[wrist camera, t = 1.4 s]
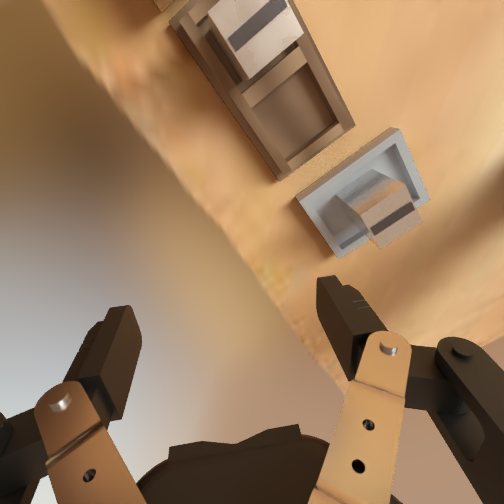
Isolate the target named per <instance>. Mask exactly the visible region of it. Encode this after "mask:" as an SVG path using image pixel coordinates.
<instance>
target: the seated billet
mask: <svg viewBox="0 0 504 504" xmlns="http://www.w3.org/2000/svg"><path fill="white" fill-rule="evenodd" d="M207 13H208V27H209V31H210V33H211V35H212V36H213V38H214V39H215V41H216V42H217V44H218V45H219V47H220V48H221V50H222V52H223V53H224V55H225V56H226V58H227V59H228V61H229V62H230V64H231V65H232V67H233V69H234V70H235V72H236V73H237V75H238V76H239V78H240V79H241V81H242V82H243V81H246V80H249V79H250V78H252V77H253V76H254V75H255V74H256V73H258V72H259V71H260V70H261V69H262V68H263V67H265V66H266V65H267V64H268V63H269V62H270V61H272V60H273V59H274V58H275V57H276V56H278V55H279V54H280V53H281V52H282V51H283V50H285V49H286V48H287V47H288V46H289V45H291V44H292V43H293V42H294V41H295V40H296V39H298V38H299V37H300V36H301V35H302V34H304V32H303V30H302V28H301V26H300V24H299V22H298V20H297V18H296V16H295V15H294V13H293V11H292V9H291V7H290V5H289V3H288V1H287V0H220V1H219V2H218V3H217V4H216V5H214V6H213V7H212V8H211V9H210V10H209V11H208V12H207Z"/></svg>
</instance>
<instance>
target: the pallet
mask: <svg viewBox="0 0 504 504" xmlns="http://www.w3.org/2000/svg"><path fill="white" fill-rule="evenodd" d="M219 1H220V0H191V1H190V2H189V3H188V4H186V5H185V6H184V7H183V8H182V9H181V10H180V11H179V12H178V13H177V14H176V15H175V16H174V17H173V18H172V19H171V20H170V21H169V24H170V25H171V27H172V28H173V29H174V31H175V32H176V34H177V35H178V37H179V38H180V39H181V41H182V42H183V44H184V45H185V47H186V48H187V49H188V51H189V52H190V54H191V55H192V57H193V58H194V60H195V61H196V62H197V64H198V65H199V67H200V68H201V70H202V71H203V72H204V74H205V75H206V77H207V78H208V80H209V81H210V82H211V84H212V85H213V87H214V88H215V90H216V91H217V93H218V94H219V95H220V97H221V98H222V100H223V101H224V103H225V104H226V105H227V107H228V108H229V110H230V111H231V113H232V114H233V115H234V117H235V118H236V120H237V121H238V123H239V124H240V125H241V127H242V128H243V130H244V131H245V133H246V134H247V136H248V137H249V138H250V140H251V141H252V143H253V144H254V146H255V147H256V148H257V150H258V151H259V153H260V154H261V156H262V157H263V158H264V160H265V161H266V163H267V164H268V166H269V167H270V169H271V170H272V171H273V173H274V174H275V176H276V177H277V179H278V180H279V181H281V180H283V179H284V178H285V177H287V176H288V175H289V174H291V173H292V172H293V171H295V170H296V169H298V168H299V167H300V166H302V165H303V164H304V163H306V162H307V161H308V160H310V159H311V158H312V157H314V156H315V155H316V154H318V153H319V152H320V151H322V150H323V149H324V148H326V147H327V146H328V145H330V144H331V143H332V142H334V141H335V140H336V139H338V138H339V137H340V136H342V135H343V134H345V133H346V132H347V131H349V130H350V129H351V128H353V127H354V126H355V123H354V121H353V119H352V117H351V115H350V113H349V111H348V109H347V107H346V105H345V103H344V101H343V99H342V97H341V95H340V93H339V91H338V89H337V87H336V85H335V83H334V81H333V79H332V77H331V75H330V73H329V71H328V69H327V67H326V65H325V63H324V61H323V59H322V57H321V55H320V53H319V51H318V49H317V47H316V45H315V43H314V41H313V39H312V37H311V35H310V33H309V31H308V29H307V27H306V25H305V23H304V21H303V19H302V17H301V15H300V13H299V11H298V9H297V7H296V5H295V3H294V1H293V0H287V1H288V3H289V5H290V7H291V9H292V11H293V13H294V15H295V16H296V18H297V20H298V22H299V24H300V26H301V28H302V30H303V32H304V34H302V35H301V36H300V37H299V38H298V39H296V40H295V41H294V42H293V43H292V44H291V45H289V46H288V47H287V48H286V49H285V50H283V51H282V52H281V53H280V54H279V55H278V56H276V57H275V58H274V59H273V60H272V61H270V62H269V63H268V64H267V65H266V66H265V67H263V68H262V69H261V70H260V71H259V72H258V73H256V74H255V75H254V76H253V77H252V78H250V79H249V80H246V81H243V82H242V81H241V79H240V78H239V76H238V75H237V73H236V72H235V70H234V69H233V67H232V65H231V64H230V62H229V61H228V59H227V58H226V56H225V55H224V53H223V52H222V50H221V48H220V47H219V45H218V44H217V42H216V41H215V39H214V38H213V36H212V35H211V33H210V31H209V27H208V13H207V12H208V11H209V10H210V9H211V8H212V7H213V6H214V5H216V4H217V3H218V2H219Z"/></svg>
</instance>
